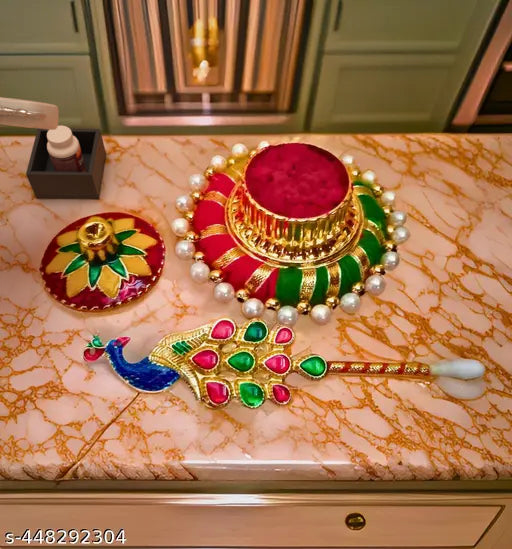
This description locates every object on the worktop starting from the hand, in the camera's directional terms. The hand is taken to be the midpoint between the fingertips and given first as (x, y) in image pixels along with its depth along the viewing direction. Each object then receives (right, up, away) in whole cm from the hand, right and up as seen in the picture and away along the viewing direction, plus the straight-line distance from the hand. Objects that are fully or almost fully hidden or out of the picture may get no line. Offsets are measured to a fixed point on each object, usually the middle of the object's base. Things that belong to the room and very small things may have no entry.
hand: (10, 112), depth 91 cm
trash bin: (+1, -5, +29) cm, 30 cm away
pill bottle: (+1, -5, +29) cm, 29 cm away
